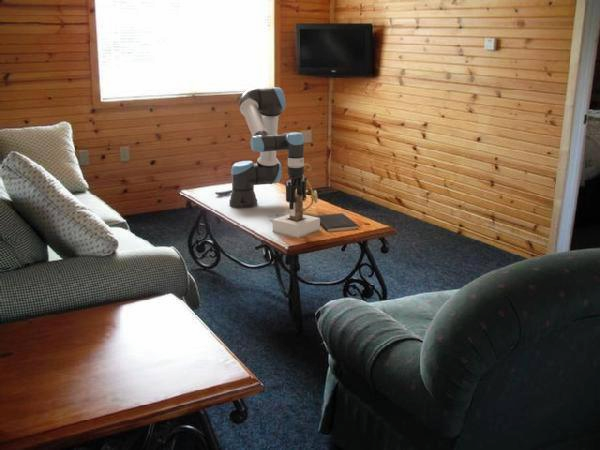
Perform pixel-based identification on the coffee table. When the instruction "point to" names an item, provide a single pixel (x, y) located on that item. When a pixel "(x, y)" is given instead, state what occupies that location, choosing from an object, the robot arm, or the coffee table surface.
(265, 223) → the coffee table surface
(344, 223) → the hardcover book
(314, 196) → the wall sconce
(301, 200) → the walnut peg
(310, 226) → the grey well block
